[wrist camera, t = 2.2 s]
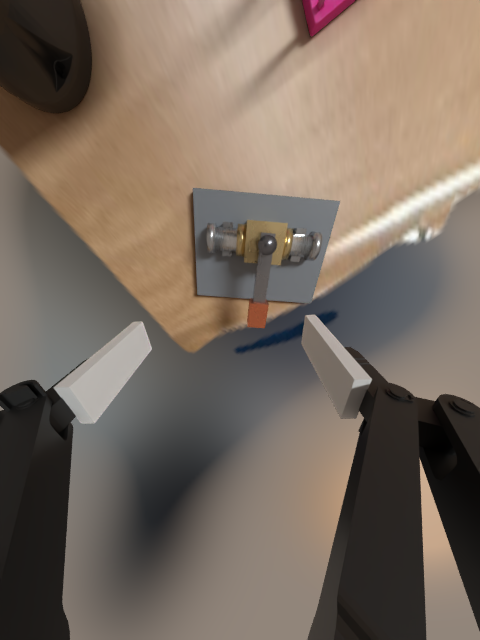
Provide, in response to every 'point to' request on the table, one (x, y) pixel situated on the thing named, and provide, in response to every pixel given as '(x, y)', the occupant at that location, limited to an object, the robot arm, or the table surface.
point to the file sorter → (322, 12)
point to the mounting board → (239, 277)
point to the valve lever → (261, 281)
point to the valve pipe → (248, 235)
